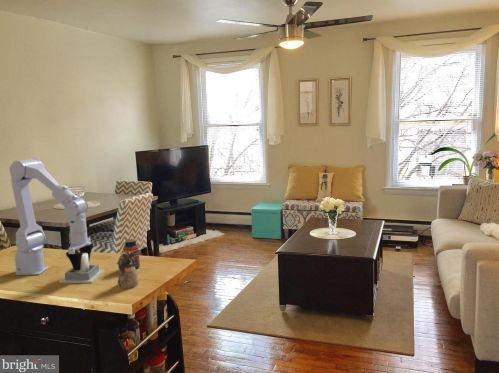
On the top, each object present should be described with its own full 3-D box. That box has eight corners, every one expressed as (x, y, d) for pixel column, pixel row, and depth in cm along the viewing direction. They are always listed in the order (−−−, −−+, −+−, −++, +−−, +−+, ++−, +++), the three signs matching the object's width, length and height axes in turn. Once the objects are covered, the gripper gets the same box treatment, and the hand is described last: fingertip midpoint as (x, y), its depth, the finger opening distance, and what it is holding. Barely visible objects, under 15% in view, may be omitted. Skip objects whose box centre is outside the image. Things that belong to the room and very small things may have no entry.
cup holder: (59, 283, 156) (58, 274, 156) (74, 271, 168) (73, 263, 167) (91, 282, 155) (91, 274, 155) (104, 271, 167) (103, 263, 167)
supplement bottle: (135, 271, 166) (133, 242, 164) (121, 270, 167) (119, 242, 166) (142, 265, 172) (140, 238, 170) (128, 265, 173) (126, 238, 171)
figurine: (120, 281, 156) (117, 249, 154) (140, 280, 156) (137, 248, 154) (115, 289, 149) (112, 256, 147) (136, 288, 149) (134, 255, 147)
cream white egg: (73, 277, 159) (71, 257, 158) (79, 272, 164) (77, 252, 163) (86, 277, 159) (84, 256, 158) (91, 272, 164) (90, 252, 163)
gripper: (80, 236, 151) (83, 273, 154) (96, 226, 166) (99, 260, 168) (61, 236, 152) (64, 273, 154) (79, 226, 166) (82, 260, 168)
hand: (81, 266), depth 161 cm, fingers open, 7 cm apart
